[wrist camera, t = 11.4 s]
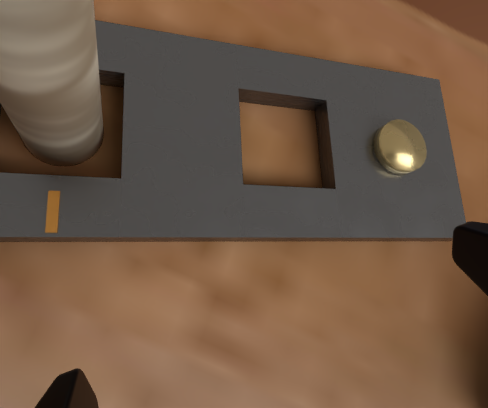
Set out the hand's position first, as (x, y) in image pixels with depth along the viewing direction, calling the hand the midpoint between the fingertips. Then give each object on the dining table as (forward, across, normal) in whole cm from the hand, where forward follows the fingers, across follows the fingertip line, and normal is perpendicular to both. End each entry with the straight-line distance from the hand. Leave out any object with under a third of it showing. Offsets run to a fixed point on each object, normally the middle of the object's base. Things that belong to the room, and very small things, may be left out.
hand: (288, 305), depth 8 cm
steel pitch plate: (+16, -4, +1) cm, 16 cm away
